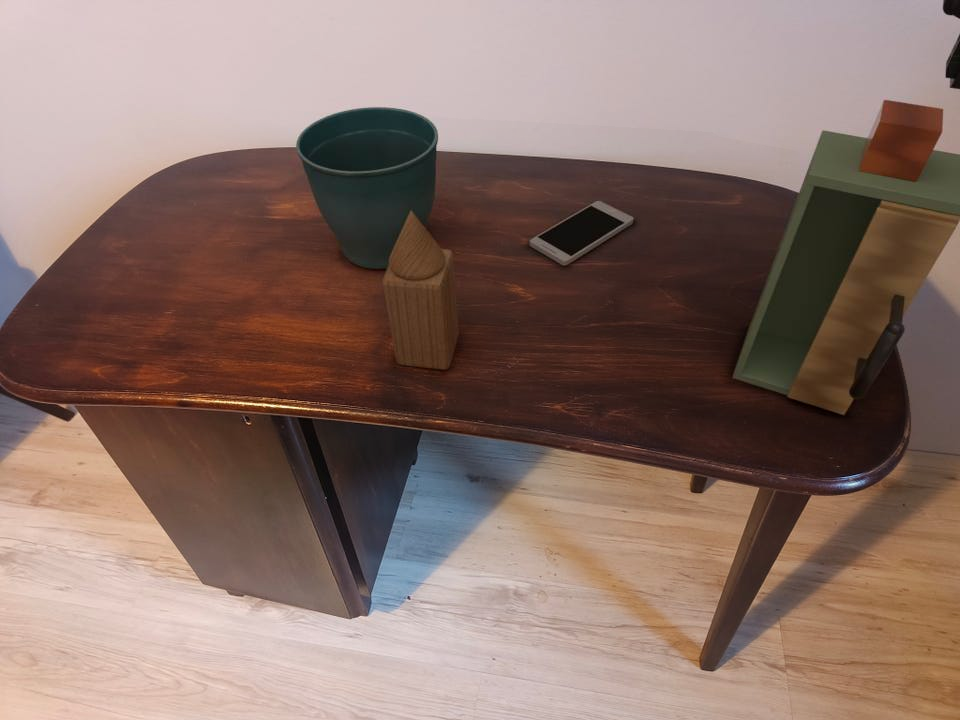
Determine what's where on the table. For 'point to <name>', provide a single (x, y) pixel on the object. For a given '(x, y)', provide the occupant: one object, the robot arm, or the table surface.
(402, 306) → the decorative item
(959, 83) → the robot arm
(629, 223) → the smartphone
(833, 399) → the door
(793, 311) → the box
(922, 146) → the block
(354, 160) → the flower pot
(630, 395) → the table surface
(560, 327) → the table surface
